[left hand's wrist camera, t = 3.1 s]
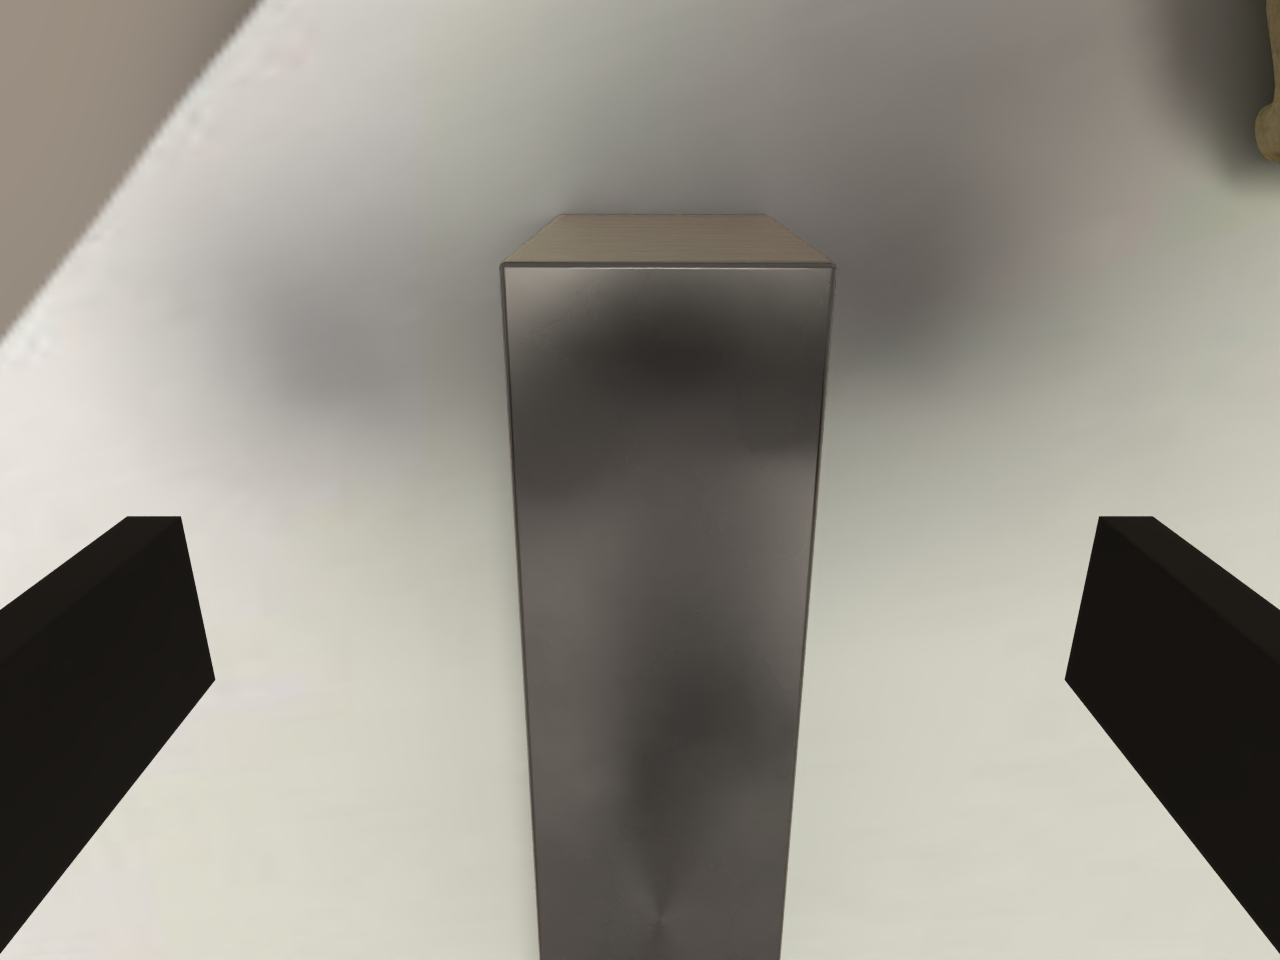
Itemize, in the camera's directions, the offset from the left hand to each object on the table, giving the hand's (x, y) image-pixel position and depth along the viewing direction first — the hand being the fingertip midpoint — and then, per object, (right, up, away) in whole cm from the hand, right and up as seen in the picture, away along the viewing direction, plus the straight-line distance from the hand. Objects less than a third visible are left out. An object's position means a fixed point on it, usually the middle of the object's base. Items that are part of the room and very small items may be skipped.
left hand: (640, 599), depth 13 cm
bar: (0, -4, +13) cm, 14 cm away
